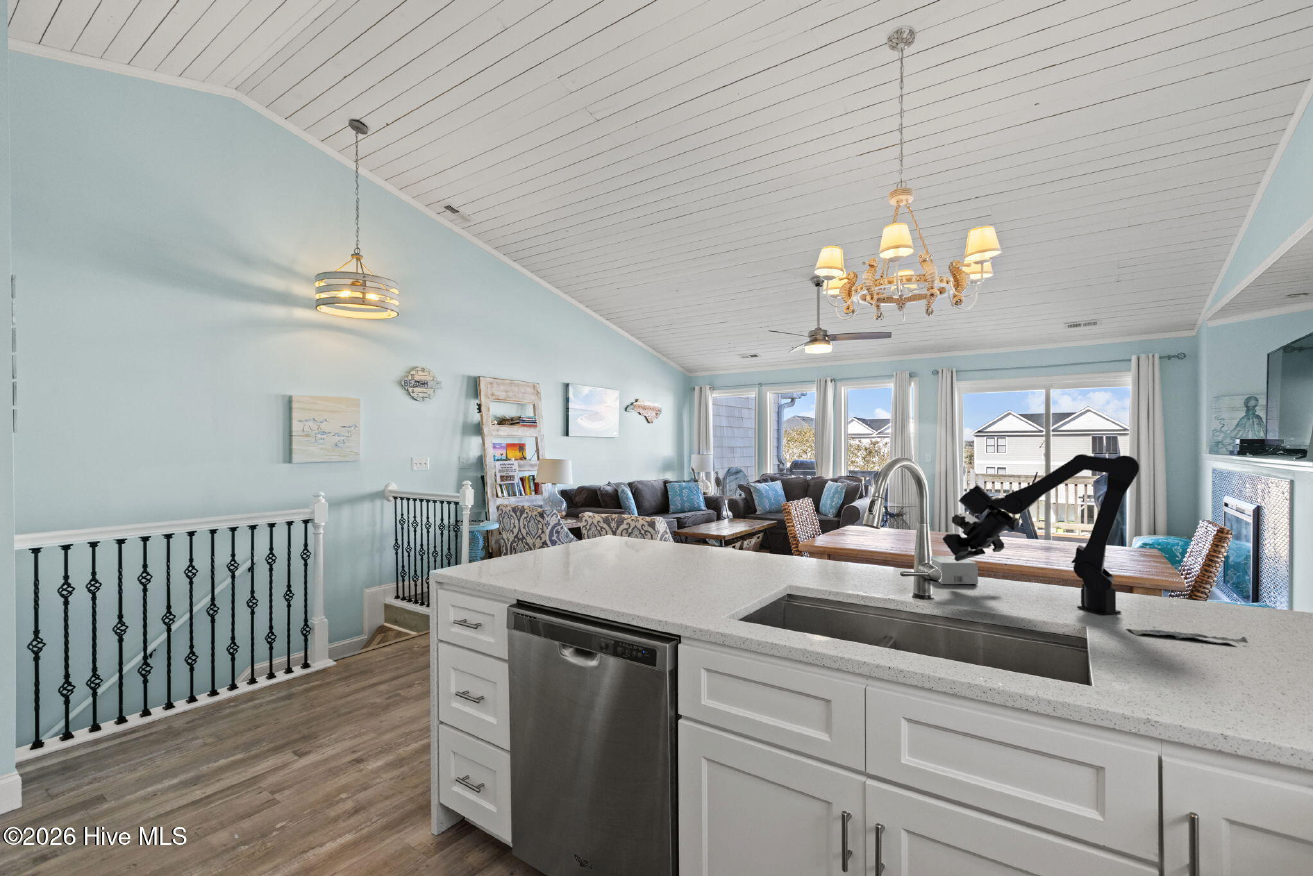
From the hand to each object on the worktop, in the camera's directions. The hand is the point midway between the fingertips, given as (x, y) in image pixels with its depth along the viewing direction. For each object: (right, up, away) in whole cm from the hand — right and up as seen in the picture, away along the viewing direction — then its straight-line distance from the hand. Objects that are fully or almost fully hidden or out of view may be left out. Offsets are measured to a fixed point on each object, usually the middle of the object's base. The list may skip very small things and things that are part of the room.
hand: (956, 559), depth 175 cm
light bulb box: (+1, -4, +1) cm, 4 cm away
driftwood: (+26, -8, -47) cm, 54 cm away
